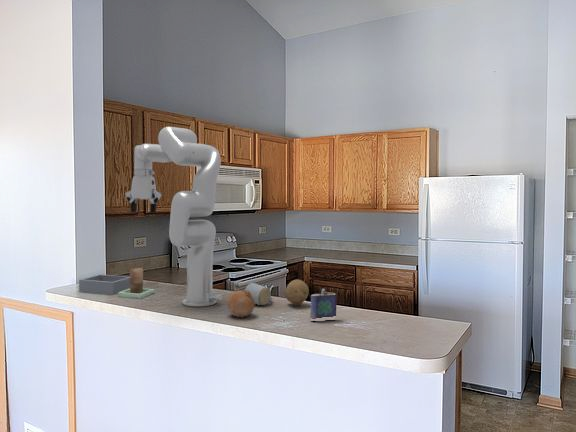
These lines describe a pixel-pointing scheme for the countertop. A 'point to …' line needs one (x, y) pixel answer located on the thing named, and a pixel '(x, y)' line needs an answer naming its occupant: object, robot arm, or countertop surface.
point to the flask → (323, 304)
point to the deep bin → (104, 284)
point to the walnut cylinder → (136, 280)
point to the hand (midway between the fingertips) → (143, 212)
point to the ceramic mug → (259, 293)
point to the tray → (136, 296)
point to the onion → (240, 303)
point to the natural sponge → (296, 292)
